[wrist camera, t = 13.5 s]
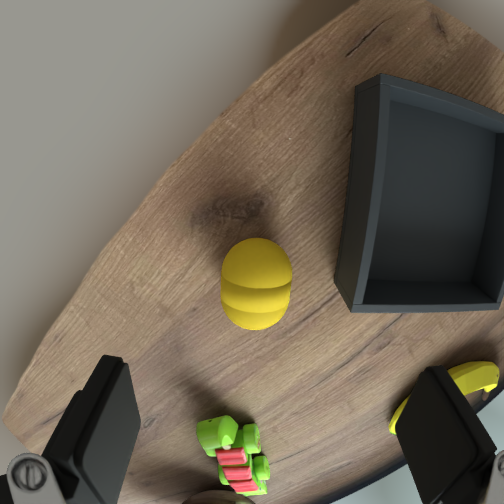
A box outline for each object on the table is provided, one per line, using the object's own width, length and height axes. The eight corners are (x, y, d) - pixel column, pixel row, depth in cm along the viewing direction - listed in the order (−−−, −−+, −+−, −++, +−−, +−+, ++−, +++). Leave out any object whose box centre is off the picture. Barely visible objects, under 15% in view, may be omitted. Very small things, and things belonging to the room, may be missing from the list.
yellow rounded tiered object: (219, 228, 27) (225, 250, 21) (285, 230, 28) (305, 251, 22) (217, 309, 29) (222, 344, 24) (277, 308, 30) (292, 341, 25)
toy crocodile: (274, 477, 39) (276, 509, 34) (232, 481, 40) (230, 512, 34) (248, 395, 33) (248, 436, 27) (192, 401, 34) (184, 440, 28)
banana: (381, 436, 31) (413, 457, 37) (503, 355, 26) (506, 396, 32) (371, 408, 35) (404, 435, 41) (485, 330, 30) (493, 376, 36)
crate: (354, 86, 23) (380, 72, 18) (496, 127, 23) (533, 129, 18) (333, 282, 29) (350, 313, 23) (469, 286, 29) (498, 309, 24)
